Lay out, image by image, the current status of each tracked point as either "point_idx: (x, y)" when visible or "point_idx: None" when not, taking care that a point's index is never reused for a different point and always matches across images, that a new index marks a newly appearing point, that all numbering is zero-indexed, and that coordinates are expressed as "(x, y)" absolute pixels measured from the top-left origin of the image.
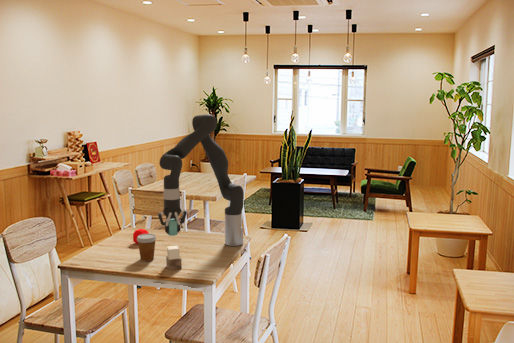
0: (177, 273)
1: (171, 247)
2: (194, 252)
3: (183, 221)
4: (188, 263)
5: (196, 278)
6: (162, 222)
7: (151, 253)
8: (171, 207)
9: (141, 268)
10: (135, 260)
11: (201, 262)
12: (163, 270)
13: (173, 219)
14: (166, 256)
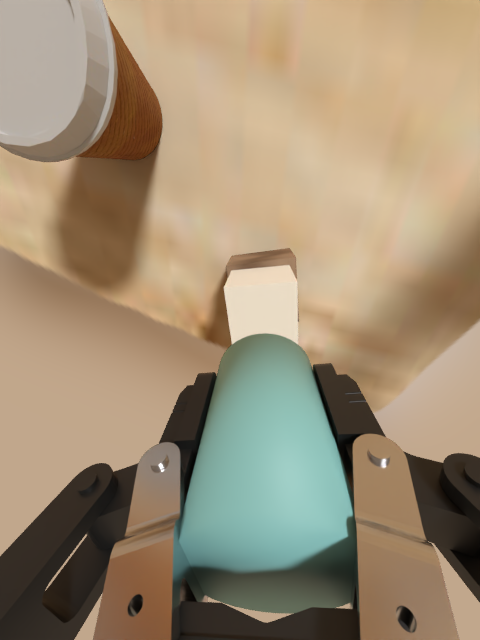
0: None
1: (251, 316)
2: (438, 12)
3: (474, 551)
4: (336, 243)
5: None
6: (99, 567)
7: (136, 147)
8: None
9: (125, 260)
10: None
11: (403, 243)
12: (218, 304)
13: (298, 560)
14: (226, 269)
